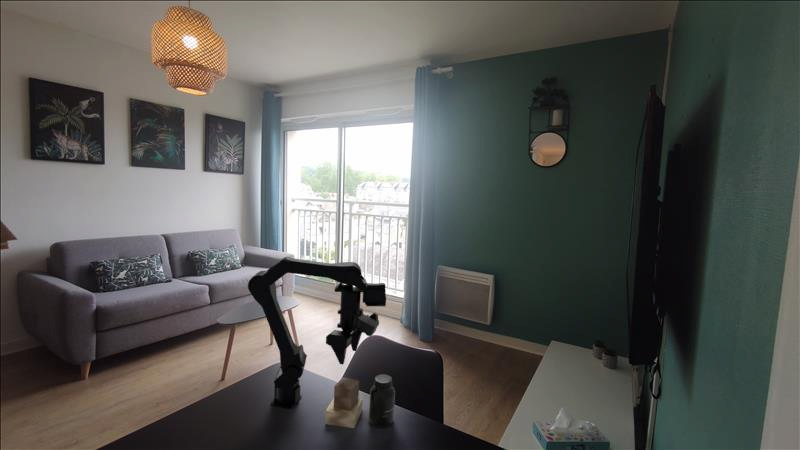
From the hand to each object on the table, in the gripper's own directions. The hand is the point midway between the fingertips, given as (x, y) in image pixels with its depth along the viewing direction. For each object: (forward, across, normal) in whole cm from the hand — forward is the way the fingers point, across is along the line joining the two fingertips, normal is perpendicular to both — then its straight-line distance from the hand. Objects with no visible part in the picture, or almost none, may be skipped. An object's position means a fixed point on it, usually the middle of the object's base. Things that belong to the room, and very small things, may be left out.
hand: (348, 357), depth 107 cm
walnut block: (+9, -8, -3) cm, 13 cm away
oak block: (+13, -8, -3) cm, 16 cm away
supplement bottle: (+13, -6, -13) cm, 19 cm away
